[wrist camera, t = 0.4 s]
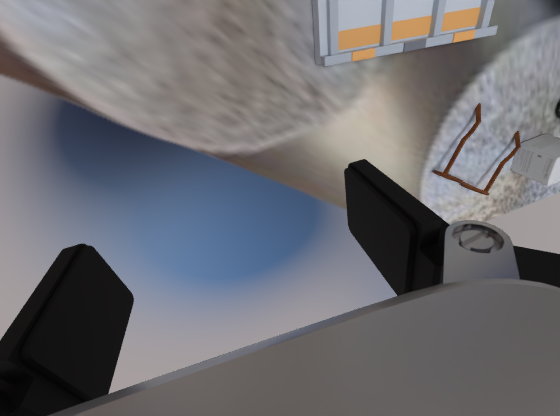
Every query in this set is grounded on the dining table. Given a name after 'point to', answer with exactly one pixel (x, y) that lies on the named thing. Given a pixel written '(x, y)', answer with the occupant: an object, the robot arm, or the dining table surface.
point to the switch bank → (393, 26)
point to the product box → (539, 159)
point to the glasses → (478, 120)
